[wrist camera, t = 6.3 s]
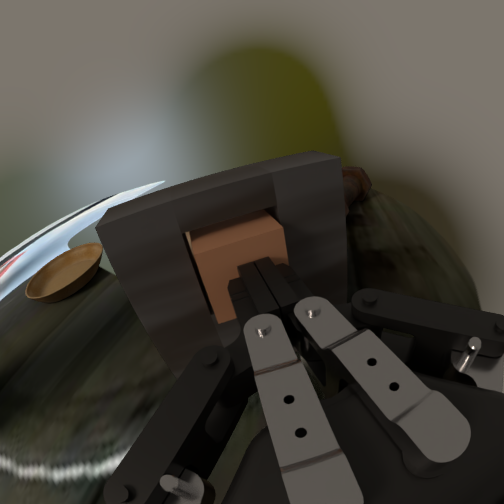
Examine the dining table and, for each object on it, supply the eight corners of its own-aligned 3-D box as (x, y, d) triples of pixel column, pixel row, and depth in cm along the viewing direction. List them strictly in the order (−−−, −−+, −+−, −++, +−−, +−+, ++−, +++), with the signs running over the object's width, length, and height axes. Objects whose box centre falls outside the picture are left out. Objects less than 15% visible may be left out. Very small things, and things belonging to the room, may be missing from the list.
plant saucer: (93, 301, 29) (83, 283, 28) (20, 319, 28) (11, 305, 27) (119, 247, 42) (113, 233, 40) (54, 269, 41) (48, 256, 39)
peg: (293, 298, 14) (283, 227, 12) (218, 323, 13) (193, 254, 11) (236, 217, 25) (226, 175, 23) (194, 230, 25) (181, 188, 23)
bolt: (310, 255, 32) (351, 204, 41) (344, 242, 28) (377, 192, 37) (282, 213, 31) (331, 173, 40) (314, 195, 27) (356, 158, 36)
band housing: (346, 330, 18) (340, 157, 13) (183, 388, 17) (94, 227, 11) (272, 241, 32) (252, 138, 26) (172, 273, 30) (136, 171, 25)
